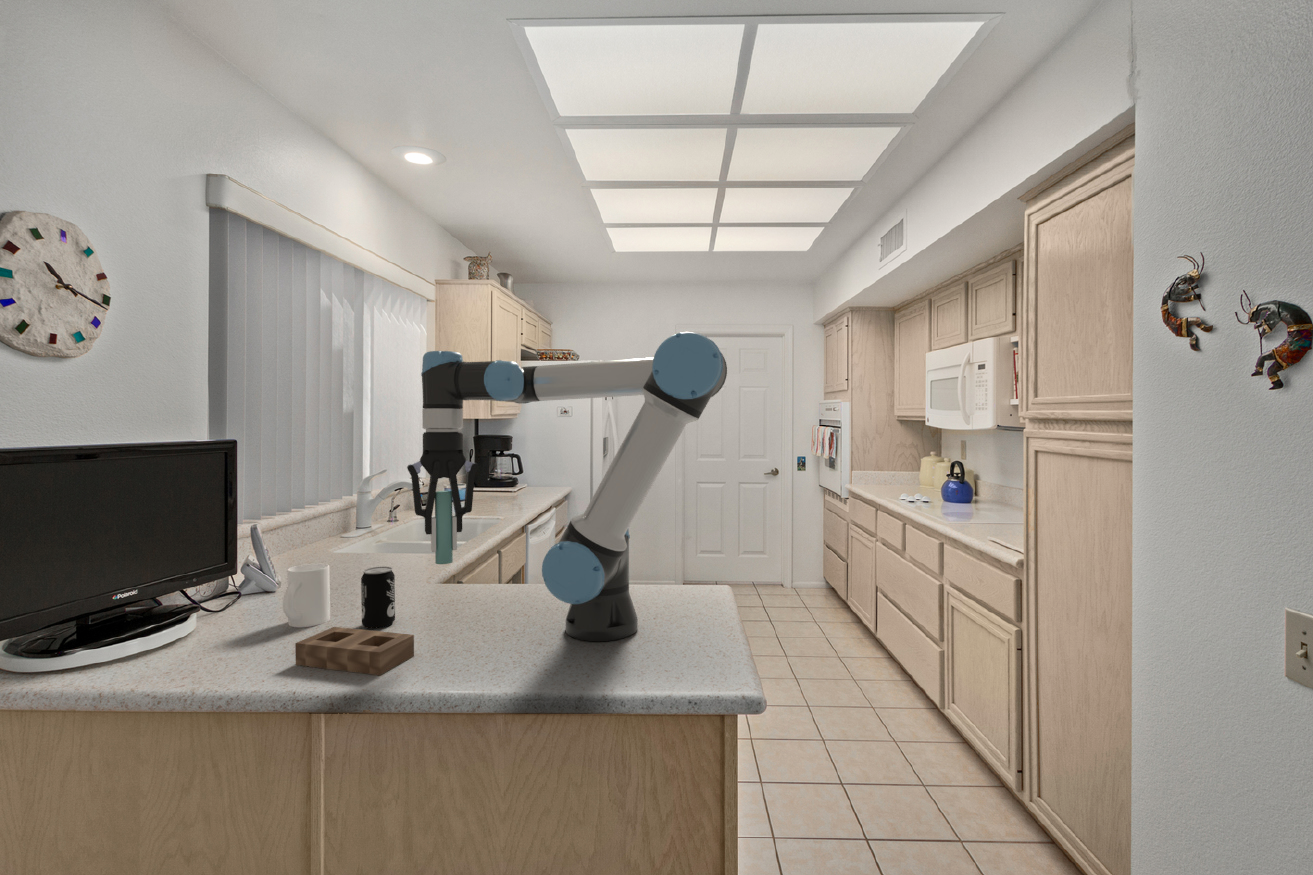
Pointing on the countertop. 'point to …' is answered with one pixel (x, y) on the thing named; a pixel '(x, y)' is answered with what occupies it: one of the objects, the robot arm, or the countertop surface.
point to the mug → (307, 595)
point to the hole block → (355, 650)
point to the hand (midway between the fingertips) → (443, 549)
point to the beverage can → (378, 597)
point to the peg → (443, 527)
